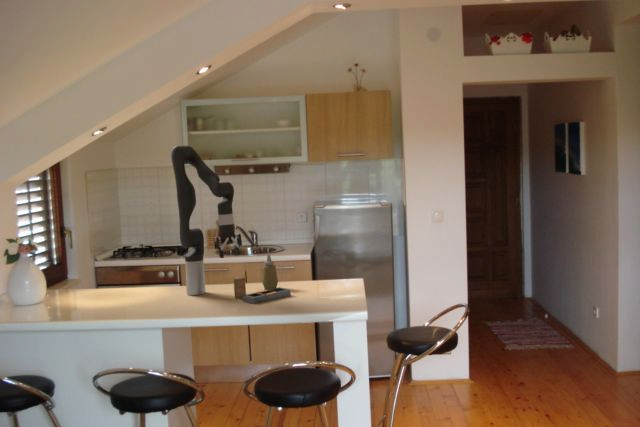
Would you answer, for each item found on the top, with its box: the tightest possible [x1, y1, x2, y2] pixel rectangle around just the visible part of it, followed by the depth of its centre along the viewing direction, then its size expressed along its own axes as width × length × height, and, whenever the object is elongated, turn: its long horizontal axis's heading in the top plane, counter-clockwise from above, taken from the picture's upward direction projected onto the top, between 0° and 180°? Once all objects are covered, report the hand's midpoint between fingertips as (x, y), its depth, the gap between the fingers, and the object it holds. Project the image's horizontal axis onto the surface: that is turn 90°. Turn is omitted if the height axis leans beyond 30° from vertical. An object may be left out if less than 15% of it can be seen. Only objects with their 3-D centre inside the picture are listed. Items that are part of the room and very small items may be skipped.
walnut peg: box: [233, 276, 247, 301], centre depth 343 cm, size 4×4×10 cm
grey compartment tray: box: [242, 287, 292, 305], centre depth 340 cm, size 9×22×3 cm, turn 131°
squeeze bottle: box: [262, 253, 279, 290], centre depth 360 cm, size 8×8×18 cm
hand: (229, 256), depth 342 cm, fingers open, 8 cm apart
